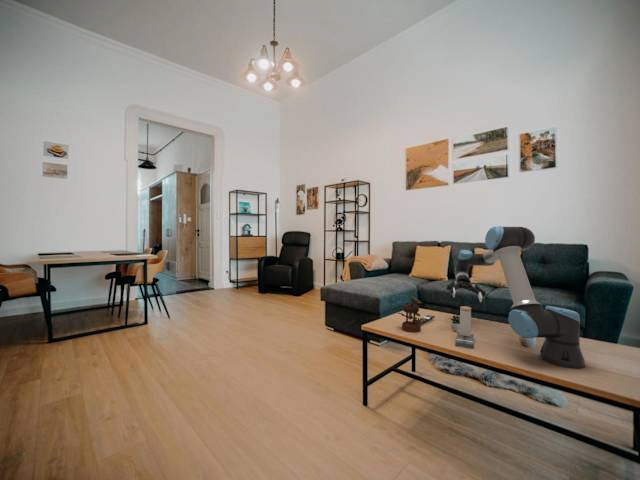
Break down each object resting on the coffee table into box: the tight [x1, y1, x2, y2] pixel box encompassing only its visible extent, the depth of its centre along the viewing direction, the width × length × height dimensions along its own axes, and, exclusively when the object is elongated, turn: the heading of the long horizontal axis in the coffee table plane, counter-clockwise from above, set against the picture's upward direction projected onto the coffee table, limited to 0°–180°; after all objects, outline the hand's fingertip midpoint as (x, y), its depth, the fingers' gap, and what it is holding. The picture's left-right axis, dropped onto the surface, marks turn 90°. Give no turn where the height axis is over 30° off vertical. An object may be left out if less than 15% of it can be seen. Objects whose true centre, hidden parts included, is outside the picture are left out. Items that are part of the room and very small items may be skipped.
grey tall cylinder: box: [459, 305, 472, 337], centre depth 152 cm, size 5×5×15 cm
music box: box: [397, 295, 423, 334], centre depth 167 cm, size 15×11×20 cm
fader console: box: [454, 331, 475, 350], centre depth 148 cm, size 18×8×2 cm, turn 151°
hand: (467, 297), depth 157 cm, fingers open, 13 cm apart
